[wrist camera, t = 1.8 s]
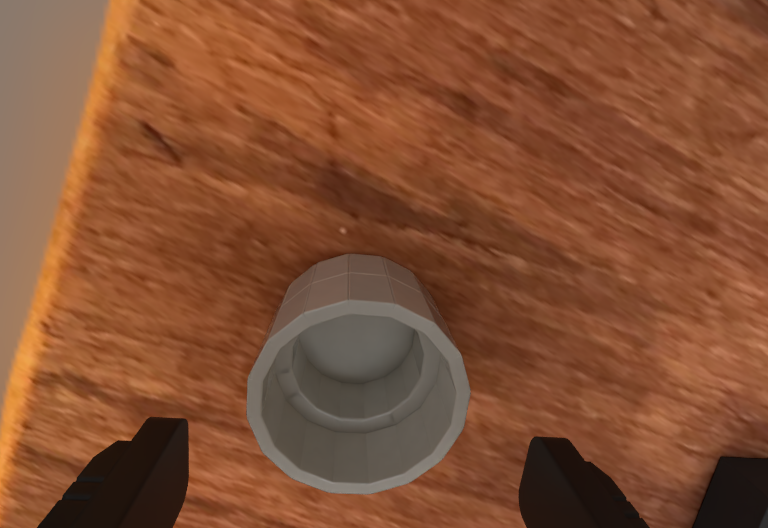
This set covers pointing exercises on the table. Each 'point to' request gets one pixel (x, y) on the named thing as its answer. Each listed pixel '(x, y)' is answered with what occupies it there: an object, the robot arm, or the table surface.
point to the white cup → (357, 379)
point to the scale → (736, 495)
